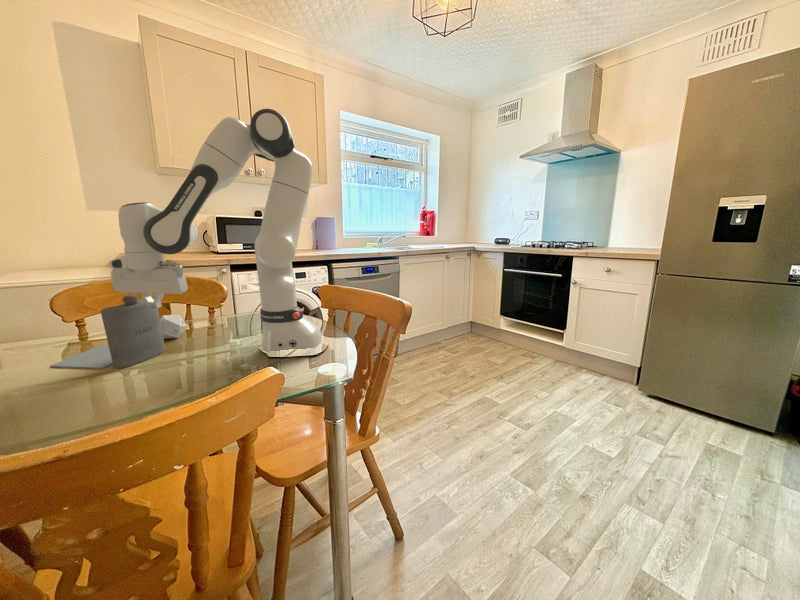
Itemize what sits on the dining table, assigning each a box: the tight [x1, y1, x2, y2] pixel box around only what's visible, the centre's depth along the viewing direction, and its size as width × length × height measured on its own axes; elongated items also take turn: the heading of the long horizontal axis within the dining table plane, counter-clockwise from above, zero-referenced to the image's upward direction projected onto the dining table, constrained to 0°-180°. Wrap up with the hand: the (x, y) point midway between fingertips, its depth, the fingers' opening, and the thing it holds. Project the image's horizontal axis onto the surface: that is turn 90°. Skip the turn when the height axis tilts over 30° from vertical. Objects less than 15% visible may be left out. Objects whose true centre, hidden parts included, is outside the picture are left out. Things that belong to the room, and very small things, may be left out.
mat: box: [49, 344, 113, 370], centre depth 101 cm, size 16×16×1 cm
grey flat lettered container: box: [100, 294, 166, 369], centre depth 98 cm, size 15×6×20 cm, turn 167°
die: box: [159, 314, 188, 340], centre depth 117 cm, size 8×9×10 cm
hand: (154, 307), depth 95 cm, fingers closed
